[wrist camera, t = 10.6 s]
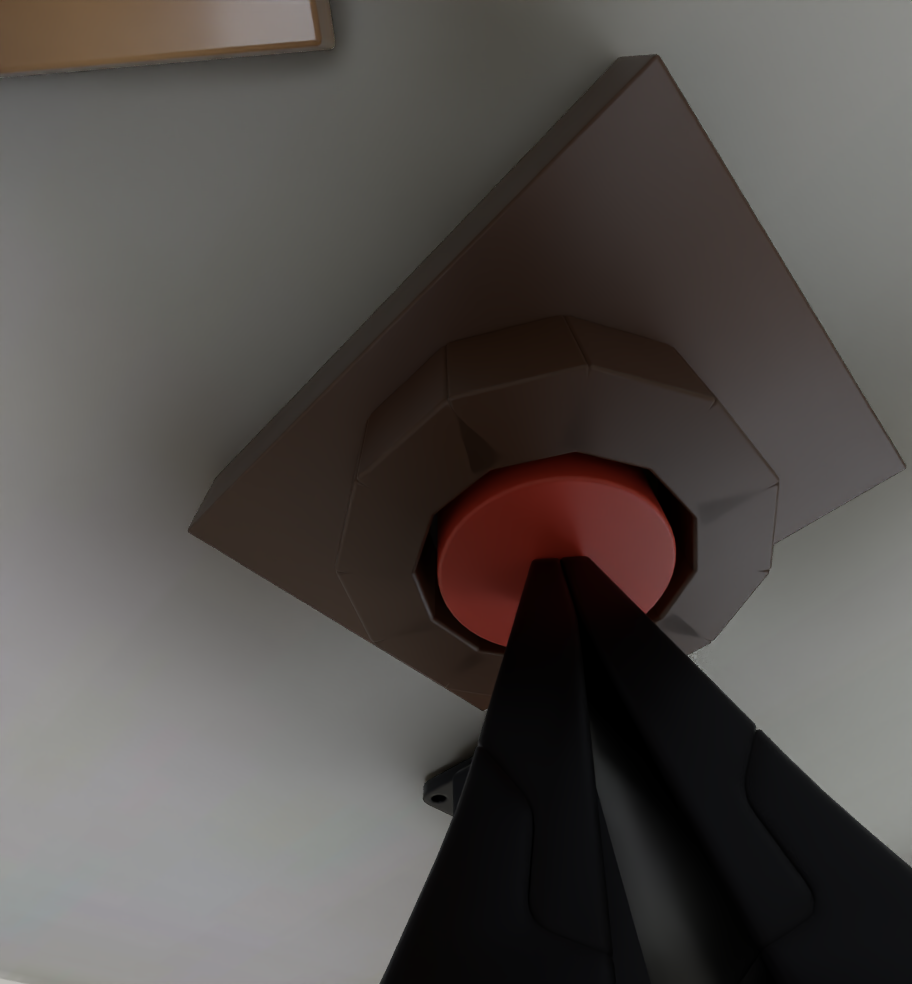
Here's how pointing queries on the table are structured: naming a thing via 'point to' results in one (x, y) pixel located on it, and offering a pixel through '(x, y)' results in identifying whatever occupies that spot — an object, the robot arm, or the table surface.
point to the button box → (563, 389)
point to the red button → (549, 535)
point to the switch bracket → (153, 32)
